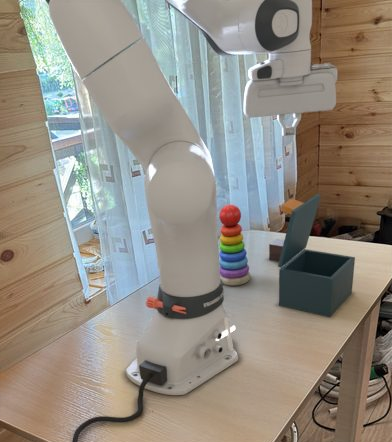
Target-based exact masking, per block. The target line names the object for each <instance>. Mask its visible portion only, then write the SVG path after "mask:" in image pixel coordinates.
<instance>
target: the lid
mask: <svg viewBox="0 0 392 442" xmlns="http://www.w3.org/2000/svg"><path fill="white" fill-rule="evenodd" d="M321 197H322V194H320V193H317V194H315V195H314V196H312V197H311V198H309V199H308V200H307V201H305V202H302V201H300V200H298V199H294V198H290V199H289V200H287V201H286V202H284V203H282V204H281V206H280V211H281V212H283V213H286V214H288V215H290V216H289V222H288V224H287V229H286V231H285V232H286V233H285V237H284V239H283V240H284V244H283V248H282V252H281V256H280V259H279V262H278V263H277V267H278V268H279V269H280V268H281V267H283V266H284V265H285V264H286V263H288V262H289V261H290V260H291V259H293V258H294V257H295V256H296V255H298V254H299V253H300V252H301V251H303V250H304V249H306V248H307V245H308V243H309V238H310V235H311V231H312V228H313V224H314V222H315V218H316V215H317V211H318V207H319V203H320V201H321Z"/></svg>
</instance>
